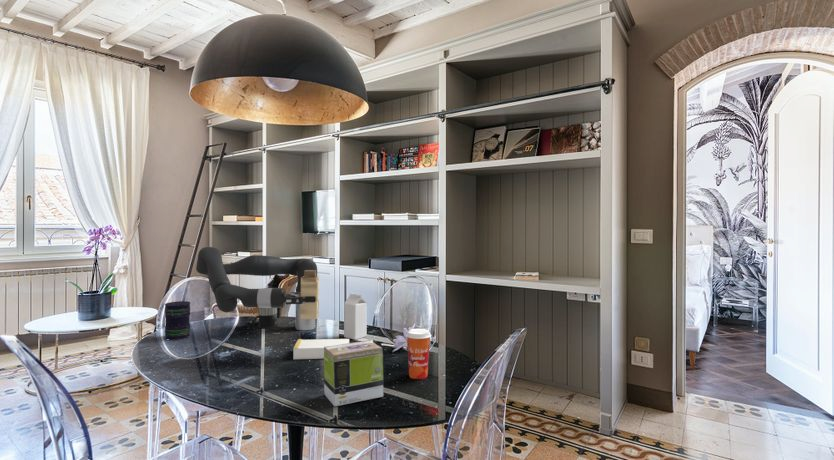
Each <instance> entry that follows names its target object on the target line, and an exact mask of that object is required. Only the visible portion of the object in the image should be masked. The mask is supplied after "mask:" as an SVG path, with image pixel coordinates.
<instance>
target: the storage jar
mask: <svg viewBox="0 0 834 460" xmlns="http://www.w3.org/2000/svg"><path fill="white" fill-rule="evenodd" d="M190 315H191V302H190V301H185V300H184V301H171V302H166V303H165V304H164V318H165V326H164V336H165V337H164V340H166V339H169V340H168V341H179V340H178V339H181V340H185V339H184V338H186V339H188V338H187V337H189V336H190V337H191V323H190ZM190 337H189V338H190Z"/></svg>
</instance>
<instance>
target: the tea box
mask: <svg viewBox="0 0 834 460" xmlns="http://www.w3.org/2000/svg"><path fill="white" fill-rule="evenodd" d="M323 376H324V377H323V379H324V380H323V382H324V383H323V385H324V386H323V387H324V388H323V389H324V395H325V397H326V398H327V400H329V402H330V403H331V404H332V406H333V407H339V406H343V405H349V404H353V403H358V402H362V401H368V400H374V399H378V398H383V397H384V353H383V347H381V346H380V345H378V344H376V343H375V342H373V341H371V340H363V341H355V342H349V343H347V344H341V345H334V346H327V347H324V358H323Z"/></svg>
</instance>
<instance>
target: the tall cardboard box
mask: <svg viewBox="0 0 834 460" xmlns="http://www.w3.org/2000/svg"><path fill="white" fill-rule="evenodd" d="M319 291H320V276H319V275H317V276H316V278H304V276H303V277H302V278H301V296H315V297H316V301H315V302H305V303H302V304H301V316H300V319H315V320H317V319H318V318H319V316H320V315H319V309H320V308H319V305H320V293H319Z"/></svg>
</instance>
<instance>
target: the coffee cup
mask: <svg viewBox="0 0 834 460" xmlns="http://www.w3.org/2000/svg"><path fill="white" fill-rule="evenodd" d="M407 331H408V330H407ZM406 336H407V343H406V345H407V356H408V357H407V361H408V376H409V378H410V379H413V380H425V379H427V378H428V372H429V356H430V341H431V340H430V339H431V337H432V334H431V332H430V330H428V329H425V328H414V329H411V330H409V331H408V333H407V334H406Z"/></svg>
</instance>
